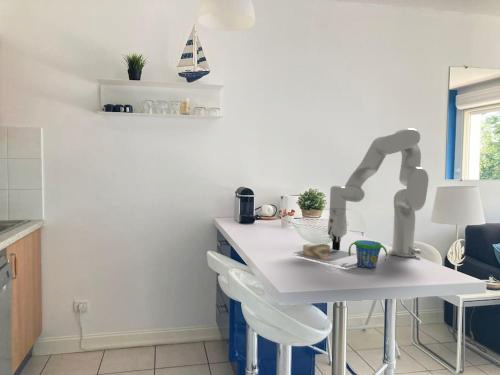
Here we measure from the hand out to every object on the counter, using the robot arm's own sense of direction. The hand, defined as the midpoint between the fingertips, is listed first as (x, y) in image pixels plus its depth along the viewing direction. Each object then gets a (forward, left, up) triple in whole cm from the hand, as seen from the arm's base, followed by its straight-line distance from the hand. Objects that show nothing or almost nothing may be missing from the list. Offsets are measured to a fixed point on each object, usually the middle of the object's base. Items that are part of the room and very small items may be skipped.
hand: (335, 249), depth 193 cm
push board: (0, +9, -2) cm, 9 cm away
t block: (0, +13, -1) cm, 13 cm away
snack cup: (-23, +12, -2) cm, 26 cm away
